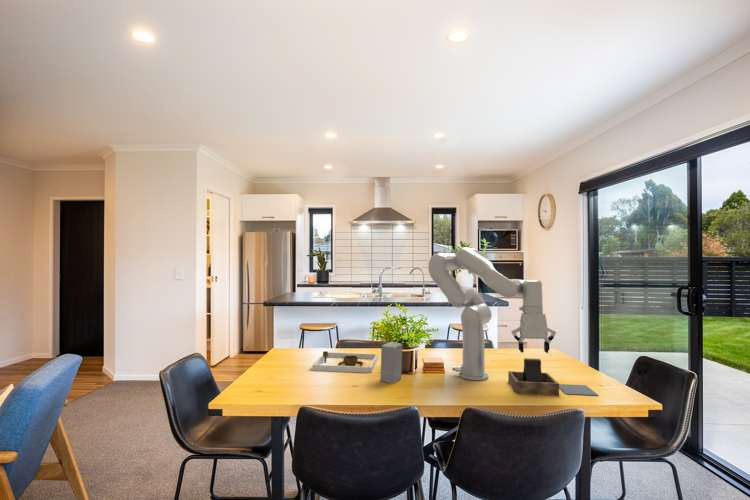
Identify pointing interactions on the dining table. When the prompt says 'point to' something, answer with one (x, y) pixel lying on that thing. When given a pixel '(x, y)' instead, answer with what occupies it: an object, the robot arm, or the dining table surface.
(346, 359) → the place setting
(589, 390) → the mat
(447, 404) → the dining table surface
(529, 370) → the door stopper
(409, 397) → the dining table surface
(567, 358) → the dining table surface
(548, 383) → the walnut crate
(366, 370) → the serving tray rim
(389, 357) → the skincare box
